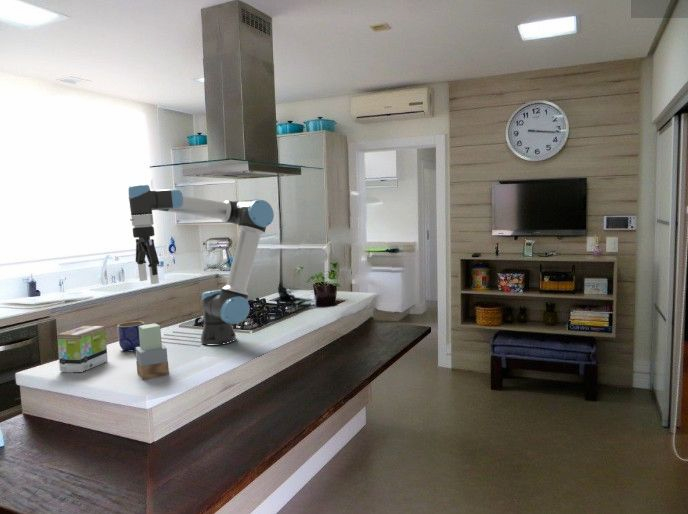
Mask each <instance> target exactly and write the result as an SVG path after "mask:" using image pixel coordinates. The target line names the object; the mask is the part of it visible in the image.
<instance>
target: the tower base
mask: <svg viewBox="0 0 688 514" xmlns="http://www.w3.org/2000/svg"><path fill="white" fill-rule="evenodd" d="M135 363H136V371H137V372H136V374H137V376H139V378H140V379H141V380H142V381H145V380H150V379H155V378H160V377H164V376H170V371H169V370H170V369H169V361H168V362H163V363H158V364H153V365H147V366H142V367H141V366H140V364H139V363H138V362H137V360H136V362H135Z"/></svg>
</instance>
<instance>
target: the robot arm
mask: <svg viewBox="0 0 688 514" xmlns="http://www.w3.org/2000/svg"><path fill="white" fill-rule="evenodd" d="M128 201H129V210H130V219H129V221H131V226H132V235H133V236H132V237H133V238H135V262H136V264H137V267H138V275H139V277H138V278H139V282H144V281H148V274H147V266H148V269H149V278H150V285H156V284H160V281H159V270H158V265H160V261H159V257H158V254H157V250H156V246H155V239H153V238H152V239H151V237H155V227H154V226H153V225H154V215H153V214H154V213H153V211H161V212H167V213H168V212H169V213H177V214H181V215H189V216H196V217H203V218H210V219H215V220H216V219H218V220H221V221H222V222H223V223H229V224H233V225H237V228H238V229H239V230H240V233H239V236H238V241H237V244H236V247H235V251H234V254H233V259H232V263H231V266H230V270H229V274H228V277H227V280H226V285H225V286H223V287H221V289H215V290H210V291H209V290H208V291H204V292H203V293H202V294H201V303H202V305H201V306H202V316H203V327H202V332H201V336H200V342H201V343H202V345H203V344H223V343H227V342H230V341H233V340H235V339H236V340H237V336H236V333H235V330H234V327H233V326H232V325H233V324H234V325H236V324H240V323H241V322H243V321H244V320H246V319H247V317H248V316H249V313H250V304H249V302H248V299H249V292H248V291H247V288H248V284H249V281H250V275H251V274H252V273H251V272H252V269H253V266H254V263H255V262H254V261H255V257H256V254H257V251H258V246H259V242H260V238H261V236H263V235H265V234H266V229H267V227H268V226H270V225H271V224H272V223H273V221H274V217H275V213H274V209H273V207H272V205H271V204H270V203H269V201H267V200H264V199H259V198H257V199H256V198H255V199H249V200H248V199H247V200H246V199H245V200H236V201H234V200H224V201H217V200H211V199H206V198H201V197H200V198H199V197H193V196H192V197H191V196H186V195H184V194H183V192H182V190H180V189H179V188H177V189H176V188H169V189H168V188H167V189H164V188H163V189H151V188H150V185H148V184H136V185H135V184H134V185H130V186H129V187H128ZM146 259H147V261H148V265H147V261H146ZM236 340H235V341H236ZM201 343H200V344H201ZM223 345H224V344H223Z"/></svg>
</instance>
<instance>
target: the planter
mask: <svg viewBox="0 0 688 514" xmlns="http://www.w3.org/2000/svg"><path fill="white" fill-rule="evenodd" d="M142 325H145V322H144V321H142V320H133V321H127V322H126V321H125V322H121V323H119V324H117V325H116V329H117V338H118V345H119V347H120V349H121V350H122V351H126V352H134V351H135V352H136V348H135V347H140V338H139V326H142Z"/></svg>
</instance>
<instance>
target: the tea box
mask: <svg viewBox="0 0 688 514" xmlns="http://www.w3.org/2000/svg"><path fill="white" fill-rule="evenodd" d="M106 332H107V331H106V326H104V325H82V326H80V327H77V328H73V329H70V330H67V331H64V332H60V333H57V348H58V349H57V350H58V361H59V372H60V371H62V372H61V373H73V372H82V373H83V371H84V372H85V370H86V371H88V370H90V369H93V368H94V367H97V366H100V365H102V364H104V362H105V363H107V362H108V348H107V347H108V346H107V333H106ZM106 361H107V362H106Z"/></svg>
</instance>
